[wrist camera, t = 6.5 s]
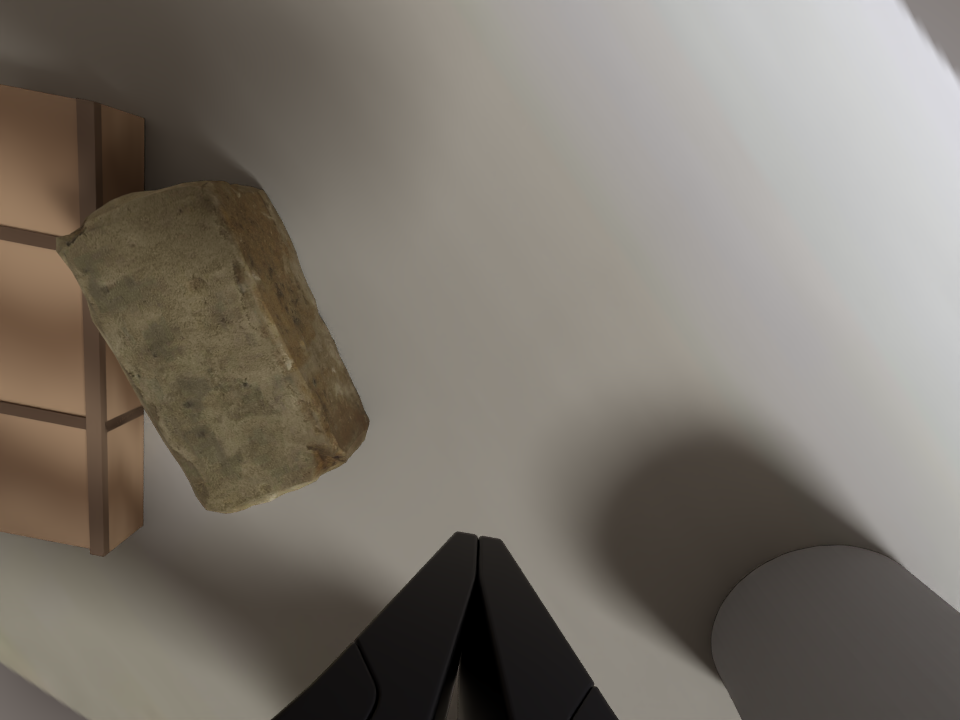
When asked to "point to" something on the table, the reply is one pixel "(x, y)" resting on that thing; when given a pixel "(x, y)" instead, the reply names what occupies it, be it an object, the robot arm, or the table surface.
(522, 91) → the table surface
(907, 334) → the table surface
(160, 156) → the table surface
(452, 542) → the robot arm
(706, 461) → the table surface
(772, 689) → the coffee mug
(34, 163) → the wooden furniture piece
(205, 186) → the stone block
